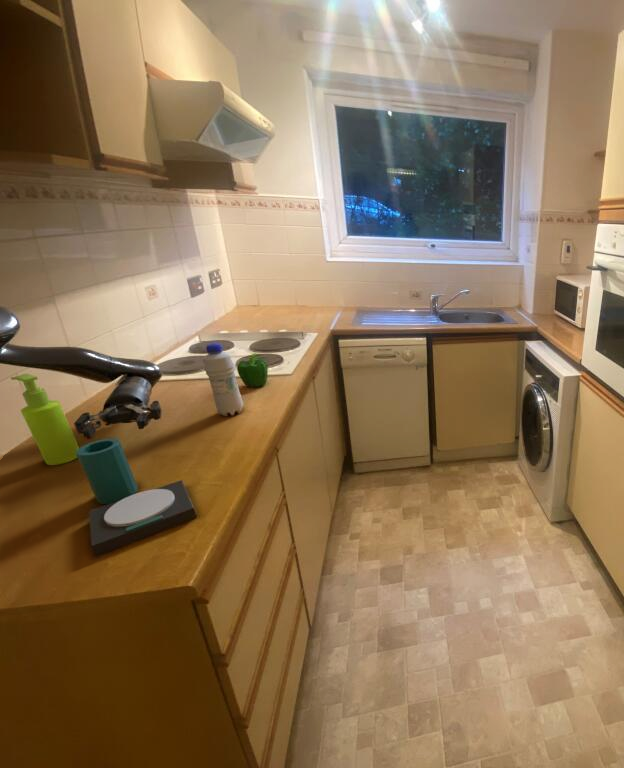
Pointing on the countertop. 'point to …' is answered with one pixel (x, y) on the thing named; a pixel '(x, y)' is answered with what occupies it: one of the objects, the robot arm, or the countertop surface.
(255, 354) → the bell pepper
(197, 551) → the countertop surface
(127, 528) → the scale
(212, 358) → the bottle
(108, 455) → the jar
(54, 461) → the soap dispenser
